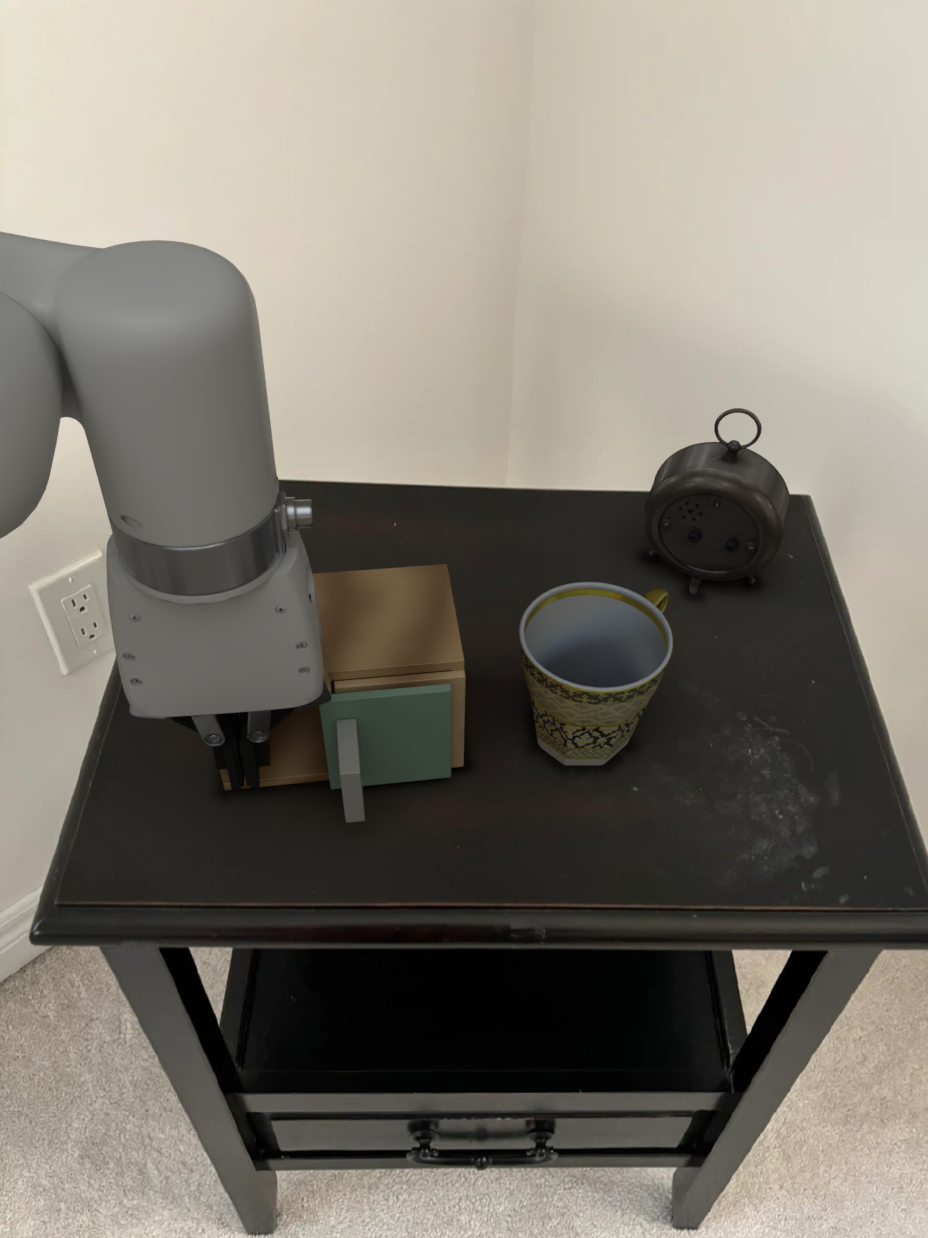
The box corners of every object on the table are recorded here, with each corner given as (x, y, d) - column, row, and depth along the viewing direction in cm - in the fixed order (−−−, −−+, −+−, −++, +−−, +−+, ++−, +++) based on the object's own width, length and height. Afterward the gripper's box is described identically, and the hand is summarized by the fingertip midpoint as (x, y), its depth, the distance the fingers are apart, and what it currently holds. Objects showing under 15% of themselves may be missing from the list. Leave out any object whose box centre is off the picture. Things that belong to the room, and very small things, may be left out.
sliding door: (333, 843, 65) (321, 758, 59) (330, 782, 68) (318, 694, 62) (459, 830, 66) (460, 744, 60) (450, 770, 70) (450, 683, 63)
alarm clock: (769, 575, 86) (822, 406, 74) (758, 617, 83) (812, 447, 71) (643, 542, 88) (674, 373, 76) (627, 582, 85) (657, 411, 73)
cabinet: (224, 798, 68) (195, 691, 60) (227, 690, 75) (201, 581, 67) (463, 773, 71) (465, 667, 63) (446, 671, 77) (447, 563, 69)
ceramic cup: (589, 813, 69) (606, 716, 62) (482, 731, 73) (486, 631, 66) (702, 709, 76) (730, 611, 68) (598, 640, 80) (613, 540, 73)
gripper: (357, 472, 51) (368, 712, 65) (39, 483, 49) (120, 730, 62) (367, 572, 46) (377, 809, 60) (15, 591, 44) (108, 833, 58)
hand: (246, 768), depth 61 cm, fingers closed
